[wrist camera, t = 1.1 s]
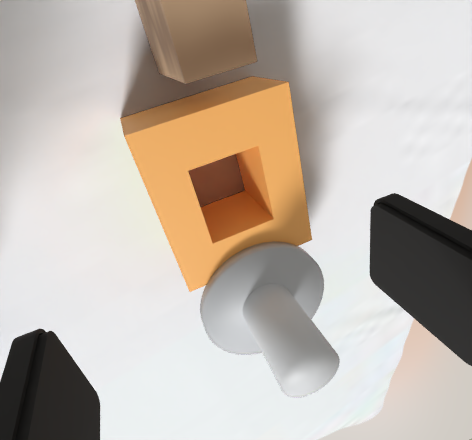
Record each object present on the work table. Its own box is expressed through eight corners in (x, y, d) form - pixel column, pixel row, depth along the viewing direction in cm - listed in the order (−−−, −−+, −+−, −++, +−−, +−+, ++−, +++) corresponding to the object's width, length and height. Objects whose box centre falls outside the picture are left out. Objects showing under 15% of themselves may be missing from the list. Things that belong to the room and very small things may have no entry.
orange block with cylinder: (120, 118, 28) (134, 180, 14) (252, 76, 30) (374, 95, 16) (202, 317, 40) (252, 453, 26) (292, 277, 42) (381, 384, 28)
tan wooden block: (131, 0, 24) (149, -37, 14) (183, -13, 25) (235, -58, 15) (155, 72, 27) (185, 84, 17) (202, 58, 28) (257, 61, 18)
